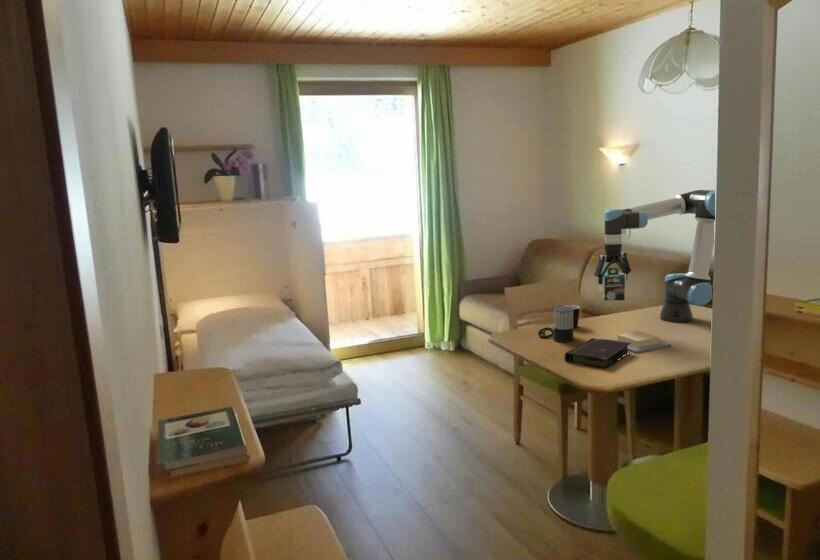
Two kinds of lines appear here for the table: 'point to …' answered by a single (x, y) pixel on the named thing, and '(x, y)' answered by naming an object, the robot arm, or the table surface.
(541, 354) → the table surface
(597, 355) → the diary
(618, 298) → the chalk box
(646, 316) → the table surface
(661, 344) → the board
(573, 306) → the coffee mug
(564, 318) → the milk frother
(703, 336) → the table surface
